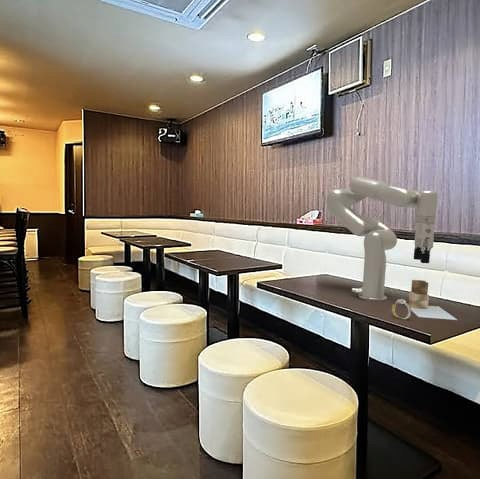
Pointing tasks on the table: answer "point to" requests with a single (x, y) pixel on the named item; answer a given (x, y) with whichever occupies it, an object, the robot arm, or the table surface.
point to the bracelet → (401, 303)
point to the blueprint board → (433, 313)
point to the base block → (418, 300)
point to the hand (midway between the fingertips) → (421, 261)
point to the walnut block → (419, 287)
